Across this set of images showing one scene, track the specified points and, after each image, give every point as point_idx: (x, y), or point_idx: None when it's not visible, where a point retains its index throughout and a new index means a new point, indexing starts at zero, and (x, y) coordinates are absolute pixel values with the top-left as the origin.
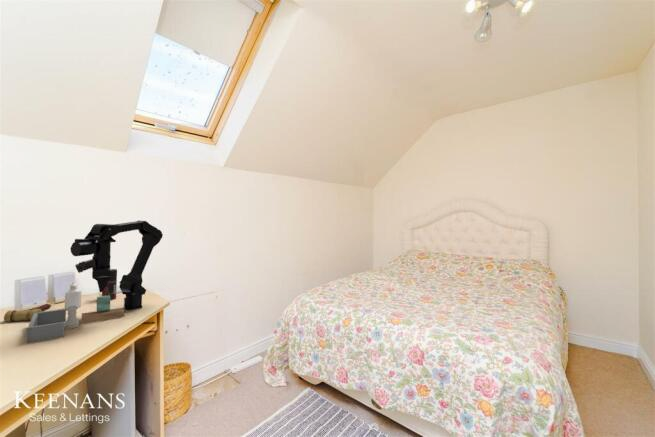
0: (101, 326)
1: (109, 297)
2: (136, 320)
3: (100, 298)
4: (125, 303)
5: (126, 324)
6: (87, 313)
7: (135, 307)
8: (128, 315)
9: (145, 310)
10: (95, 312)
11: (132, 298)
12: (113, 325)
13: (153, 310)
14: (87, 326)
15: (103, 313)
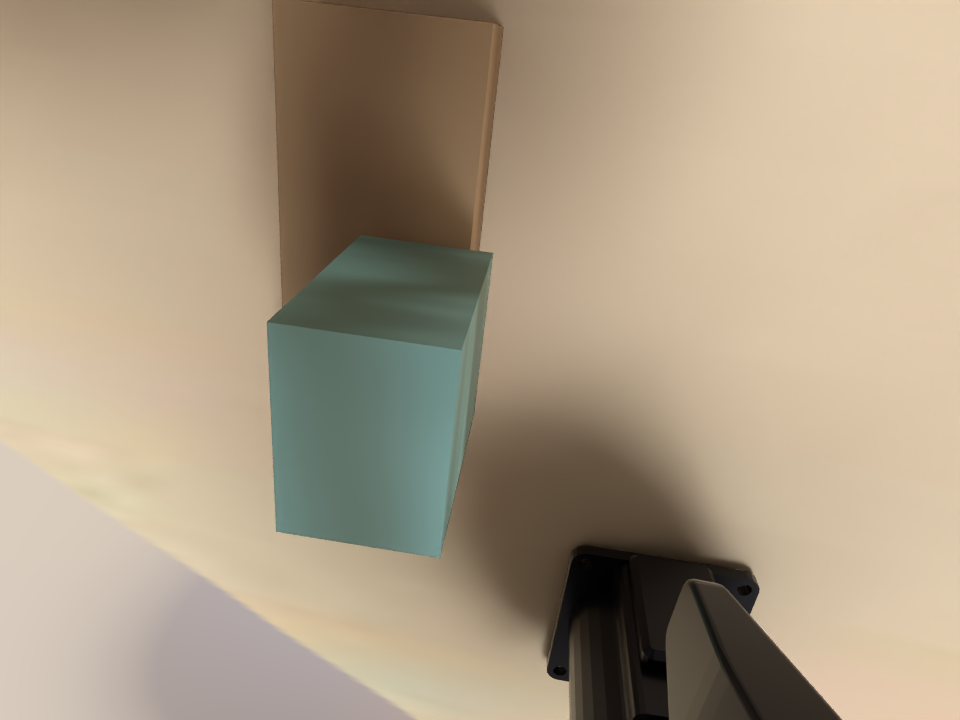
0: (58, 198)
1: (281, 514)
2: (115, 504)
3: (274, 376)
4: (634, 604)
5: (21, 408)
6: (419, 105)
7: (564, 627)
8: None
9: (424, 650)
10: (402, 218)
11: (582, 716)
12: (40, 307)
13: (374, 689)
14: (134, 56)
15: (282, 296)
